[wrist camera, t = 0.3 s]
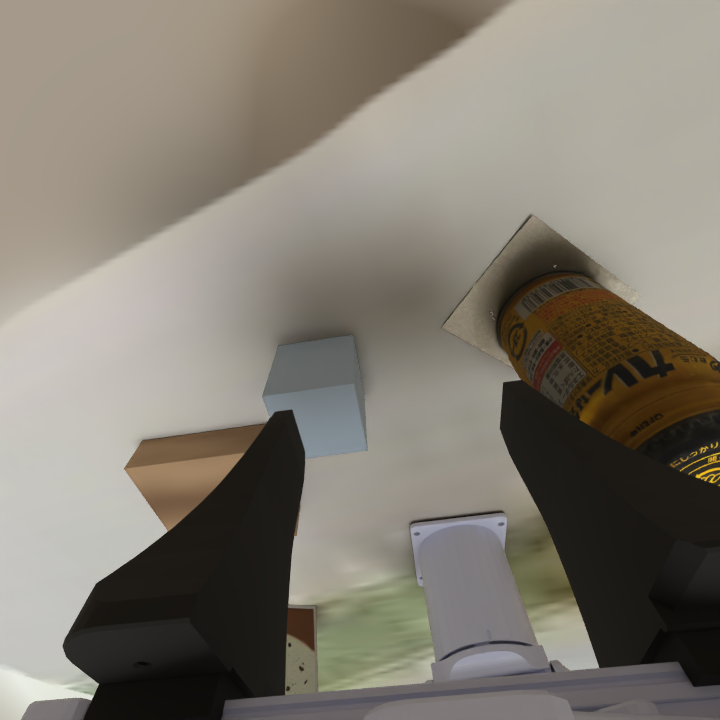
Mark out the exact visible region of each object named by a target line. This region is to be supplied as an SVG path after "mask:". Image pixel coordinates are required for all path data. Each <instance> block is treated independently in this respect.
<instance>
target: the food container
mask: <svg viewBox="0 0 720 720" xmlns="http://www.w3.org/2000/svg"><path fill="white" fill-rule="evenodd" d="M317 692H318V667H317V630H316V606H312V605H288V617H287V642H286V678H285V695H294V694H306V693H317Z"/></svg>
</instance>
